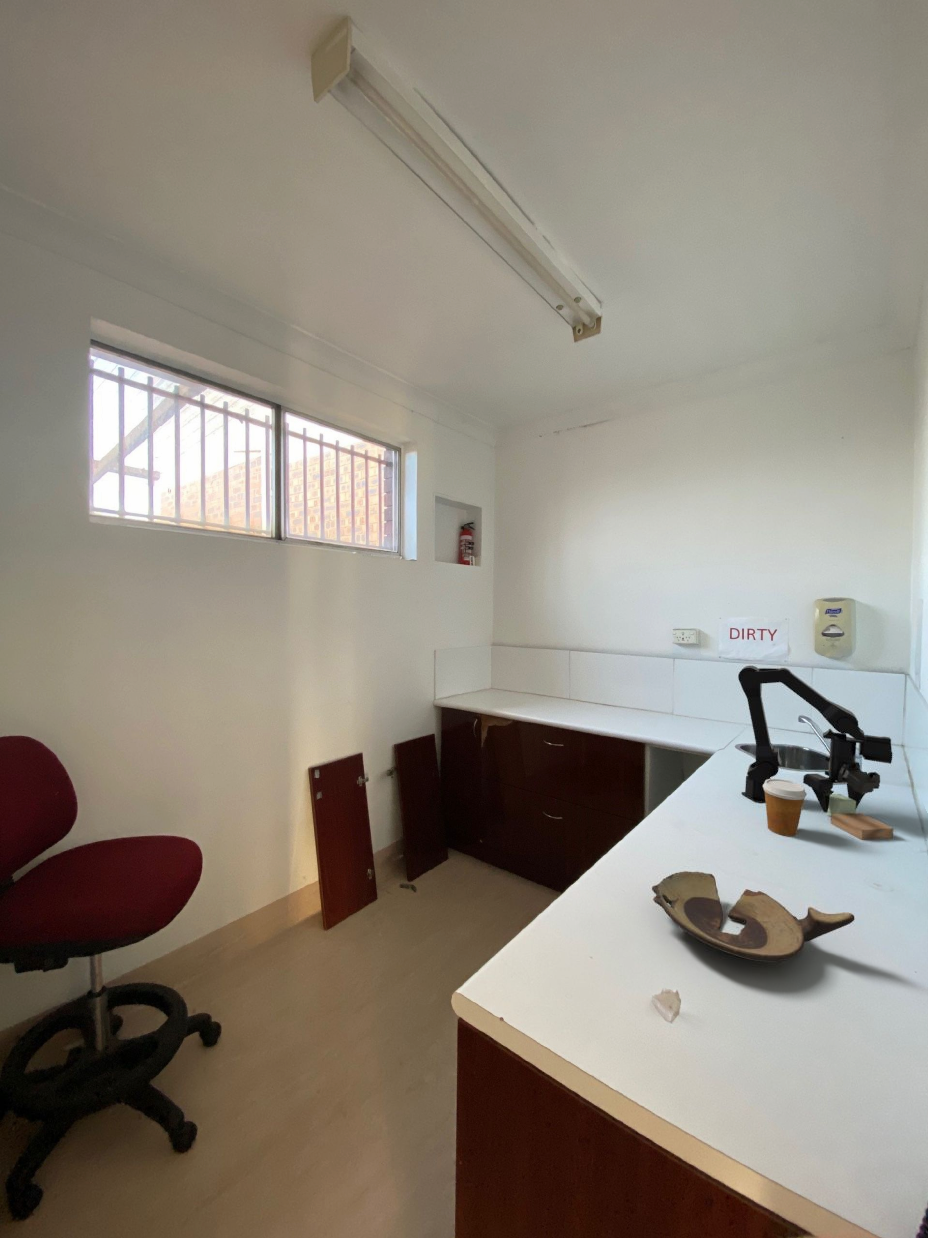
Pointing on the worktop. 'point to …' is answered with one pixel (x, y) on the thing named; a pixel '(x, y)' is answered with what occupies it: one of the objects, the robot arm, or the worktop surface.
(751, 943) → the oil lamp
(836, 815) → the walnut base
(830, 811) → the sage block
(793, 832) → the disposable coffee cup
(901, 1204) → the worktop surface
